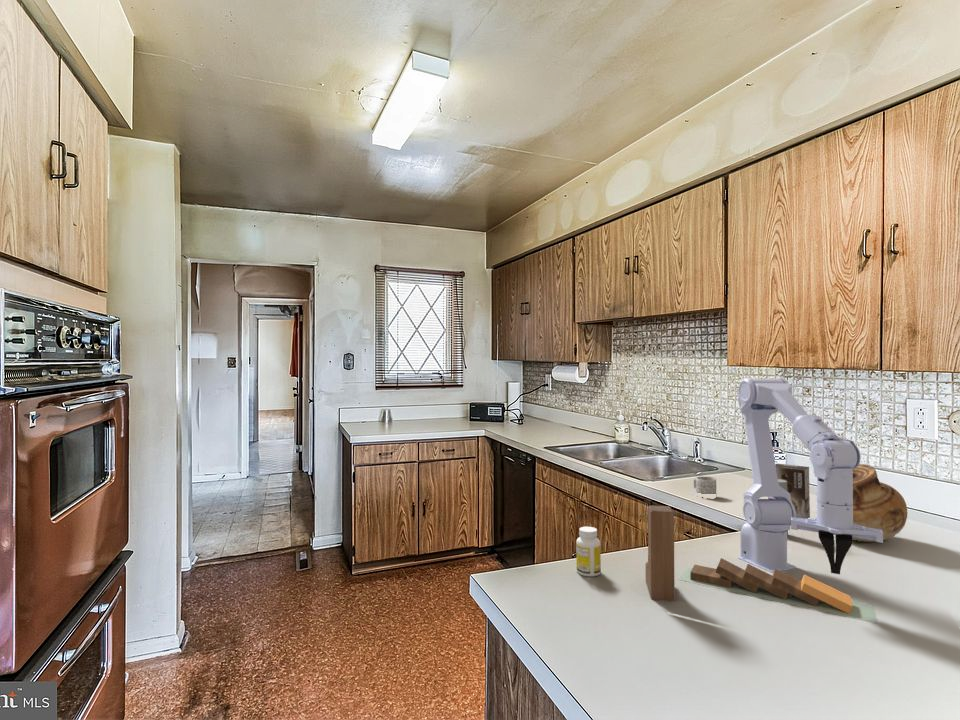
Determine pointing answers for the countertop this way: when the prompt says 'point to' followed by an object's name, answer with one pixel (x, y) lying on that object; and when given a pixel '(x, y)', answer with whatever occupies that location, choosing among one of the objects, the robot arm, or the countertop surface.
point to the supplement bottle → (588, 552)
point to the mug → (705, 485)
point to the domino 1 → (709, 576)
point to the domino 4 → (792, 587)
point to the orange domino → (826, 594)
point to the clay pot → (876, 504)
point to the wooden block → (660, 553)
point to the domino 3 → (762, 580)
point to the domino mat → (794, 600)
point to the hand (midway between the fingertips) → (835, 572)
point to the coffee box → (796, 487)
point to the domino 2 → (734, 574)
